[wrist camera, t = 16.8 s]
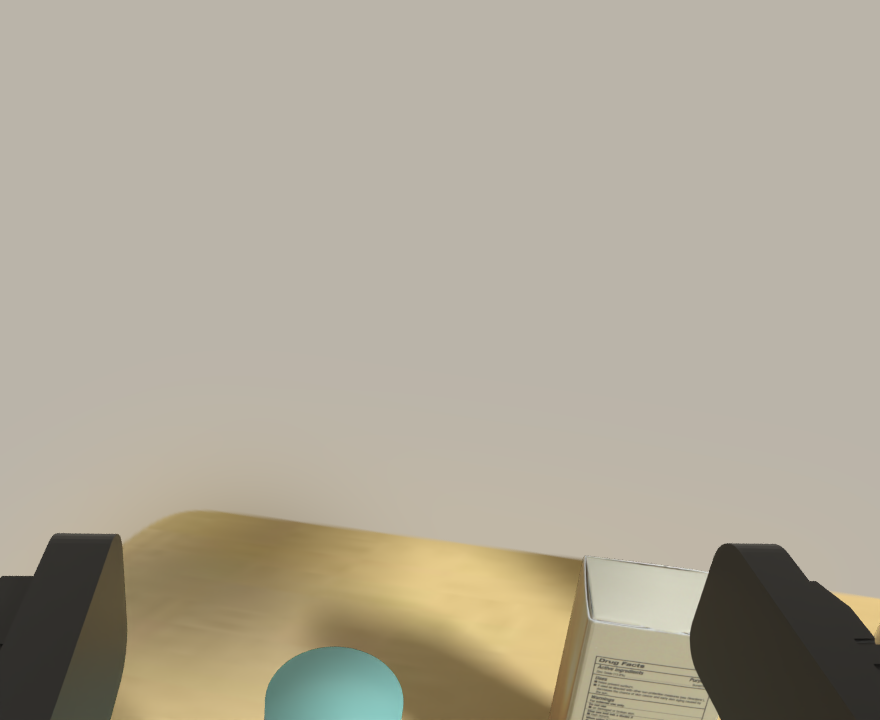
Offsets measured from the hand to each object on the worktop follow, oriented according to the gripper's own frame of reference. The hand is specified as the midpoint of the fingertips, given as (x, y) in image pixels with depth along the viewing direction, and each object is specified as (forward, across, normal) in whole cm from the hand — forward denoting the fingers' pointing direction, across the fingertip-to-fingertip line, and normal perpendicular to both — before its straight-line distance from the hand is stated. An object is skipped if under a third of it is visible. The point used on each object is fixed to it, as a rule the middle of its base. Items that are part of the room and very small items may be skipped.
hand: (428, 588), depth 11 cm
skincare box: (+16, -13, +27) cm, 34 cm away
